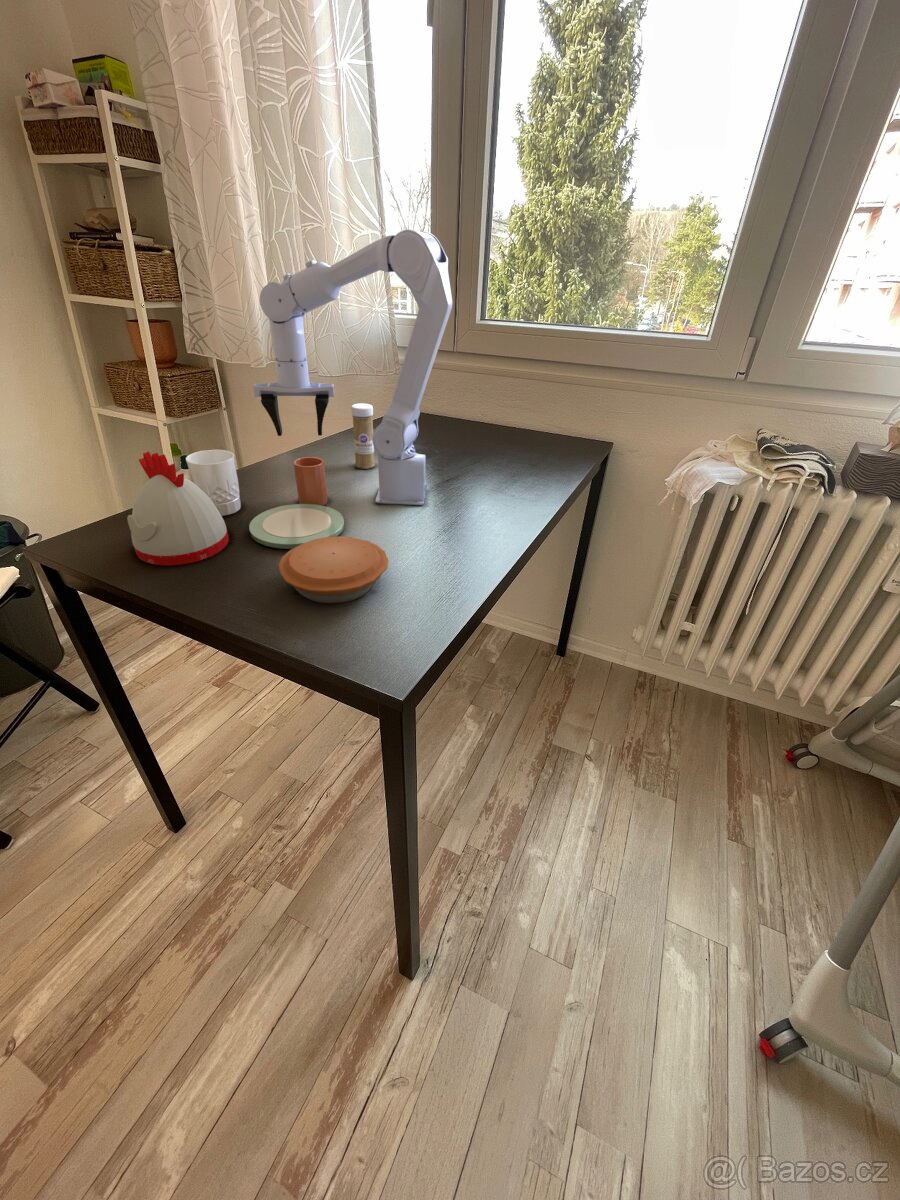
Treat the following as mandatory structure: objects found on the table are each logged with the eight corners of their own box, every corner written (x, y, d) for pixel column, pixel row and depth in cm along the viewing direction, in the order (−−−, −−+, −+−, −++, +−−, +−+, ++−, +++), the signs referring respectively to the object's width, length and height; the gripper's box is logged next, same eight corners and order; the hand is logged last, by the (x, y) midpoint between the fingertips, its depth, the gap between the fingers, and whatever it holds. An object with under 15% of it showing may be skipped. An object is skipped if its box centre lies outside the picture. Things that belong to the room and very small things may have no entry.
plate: (351, 511, 96) (350, 505, 96) (334, 552, 83) (334, 545, 82) (266, 508, 96) (265, 501, 95) (236, 549, 83) (234, 541, 82)
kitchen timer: (188, 519, 91) (164, 434, 83) (246, 536, 87) (228, 449, 78) (116, 551, 81) (81, 459, 72) (178, 573, 76) (149, 477, 68)
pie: (271, 613, 69) (264, 581, 66) (294, 556, 82) (289, 528, 79) (385, 613, 70) (384, 582, 67) (390, 557, 83) (390, 529, 80)
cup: (330, 496, 102) (326, 457, 97) (324, 508, 97) (320, 467, 93) (303, 495, 102) (297, 456, 97) (296, 506, 97) (290, 466, 93)
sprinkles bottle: (358, 470, 115) (354, 408, 107) (353, 463, 118) (348, 403, 110) (377, 468, 116) (375, 407, 109) (372, 461, 120) (369, 402, 112)
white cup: (229, 520, 92) (217, 466, 86) (190, 515, 93) (175, 461, 87) (252, 503, 98) (242, 451, 92) (215, 498, 99) (203, 447, 93)
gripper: (331, 356, 98) (337, 428, 105) (252, 355, 95) (264, 428, 103) (331, 363, 92) (337, 438, 99) (246, 361, 89) (259, 439, 97)
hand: (300, 434), depth 101 cm, fingers open, 7 cm apart
